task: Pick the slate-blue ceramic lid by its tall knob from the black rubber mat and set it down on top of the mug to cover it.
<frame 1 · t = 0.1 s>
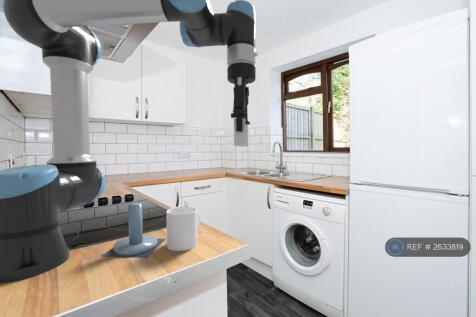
hand: (241, 146, 62), 28 cm above the counter, fingers open, 13 cm apart
mug: (186, 244, 66), on the counter
mat: (136, 248, 63), on the counter
lid: (136, 246, 63), point 1 cm above the counter, touching mat
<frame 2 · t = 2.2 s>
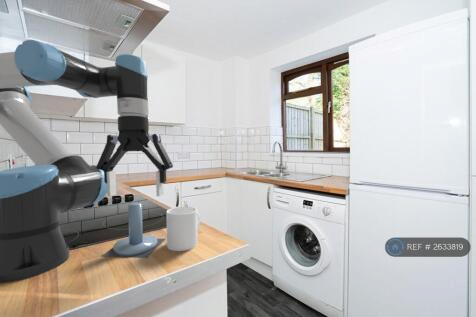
hand: (135, 195, 62), 15 cm above the counter, fingers open, 13 cm apart
nothing on the counter moved.
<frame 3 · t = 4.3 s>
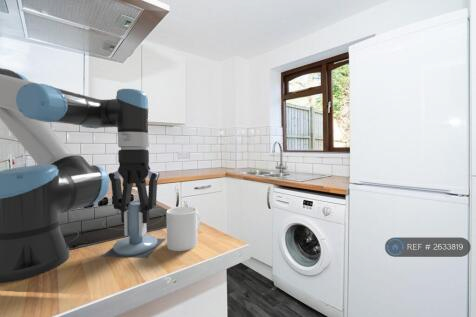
hand: (135, 234, 63), 4 cm above the counter, fingers closed on lid, 3 cm apart
lid: (136, 246, 63), point 1 cm above the counter, touching gripper
everything else where it was.
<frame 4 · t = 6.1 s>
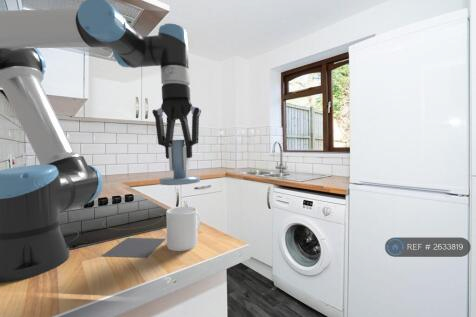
hand: (179, 169, 64), 21 cm above the counter, fingers closed on lid, 3 cm apart
lid: (180, 182, 64), point 18 cm above the counter, touching gripper
everything else where it was.
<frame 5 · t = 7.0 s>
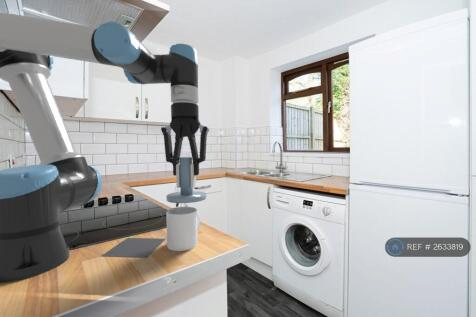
hand: (186, 186, 65), 17 cm above the counter, fingers closed on lid, 3 cm apart
lid: (186, 198, 65), point 13 cm above the counter, touching gripper
everything else where it was.
when the fingers open (15 cm above the counter, at t = 7.8 s): lid drops 2 cm, resting on mug.
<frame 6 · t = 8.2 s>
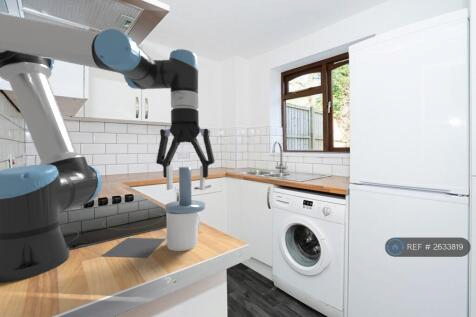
hand: (186, 189, 65), 16 cm above the counter, fingers open, 9 cm apart
mug: (186, 244, 66), on the counter, touching lid
lid: (185, 208, 65), point 10 cm above the counter, touching mug
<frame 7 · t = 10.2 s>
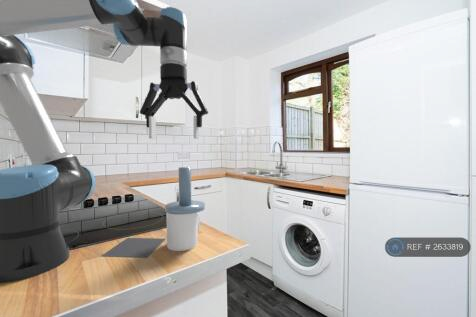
hand: (174, 138, 68), 30 cm above the counter, fingers open, 13 cm apart
nothing on the counter moved.
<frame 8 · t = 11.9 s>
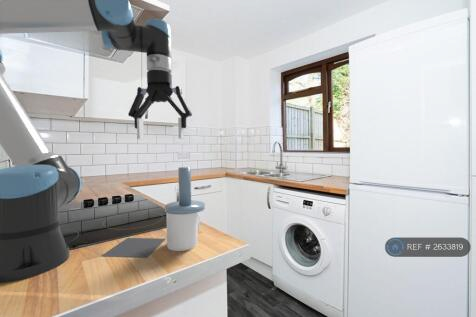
hand: (160, 138, 74), 31 cm above the counter, fingers open, 13 cm apart
nothing on the counter moved.
at the end: lid inside the target area on the mug (0.4 cm from its centre), point 10.5 cm above the mug's base; lid tilted 0°; the gripper is holding nothing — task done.
